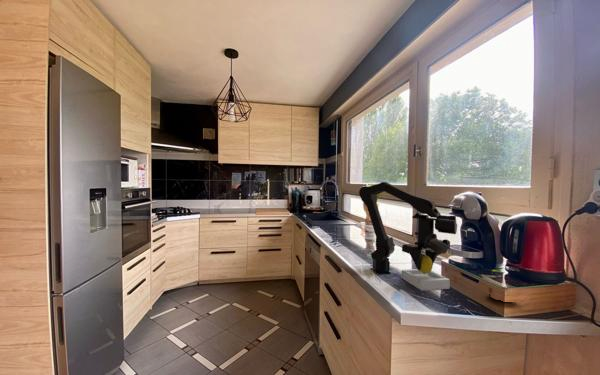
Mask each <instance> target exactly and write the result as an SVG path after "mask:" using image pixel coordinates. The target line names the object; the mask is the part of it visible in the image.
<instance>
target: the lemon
mask: <svg viewBox="0 0 600 375" xmlns="http://www.w3.org/2000/svg"><path fill="white" fill-rule="evenodd" d="M424 255H425V256H423V257H422V261H421V269H420V272H422V273H423V274H426V273H429V272H430V271H433V266H434V263H433V264H432V260H431V259H430V258H429V257H428V256H426V254H424Z"/></svg>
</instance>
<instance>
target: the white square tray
mask: <svg viewBox="0 0 600 375" xmlns="http://www.w3.org/2000/svg"><path fill="white" fill-rule="evenodd" d="M401 279H403V281H406V282H408V283H409V284H411V285H412V286H413V287H415V288H416V289H418V290H420V291H434V290H436V291H437V290H449V289H450V287H451V286H450V284H451V282H450V280H451V279H450V278H448V277H445V276H444V275H441V274H439V273H437V272H435V271H433V270H431V271H430V272H429V273H426V274H423V273H422V272H420V271H419V270H417V268H411V269H410V268H409V269H401Z"/></svg>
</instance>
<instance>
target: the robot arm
mask: <svg viewBox="0 0 600 375" xmlns="http://www.w3.org/2000/svg"><path fill="white" fill-rule="evenodd" d="M381 193H386V194H389V195H391V196H393V197H395V198H397V199H399V200H401V201H403V202H405V203H407V204H409V205H410V206H411V208H413V209H415V211H417V212H415V214H414V215H413V216H412V219H417V231H415V232H414V235H415V236H416V238H417V239H416V241H415V242H414V244H412V243H406V244H405V243H404V244H402V246H401V252H403V253H407V254H409V255H410V257H411V259H412V260H413V262H414V265H415V267H416V268H415V269H417V270H419V271H420V269H421V261H422V257H423V256H425V255H426V256H428V257H429V258H430V259H431V260H432V264H433V265H434V263H435V261H436V259H437V257H438V256H439V255H442V254H445V255H446V253H448V251H449V250H451V241H450V240H448V239H438V236H437V234H436V233H434V232H435V230H436V231H437V232H438V233H442V234H450V235H457V232H458V223H457V216H456V215H443V214H441V213H440V212H439V210H438V209H437V208H436V203H435V201H434V200H433V199H431V198H426V197H422V196H420V195H419V196H418V195H416V194H413V193H410V192H408V191H406V190H404V189H401V187H397V186H395V185H393V184H391V183H390V182H388V181H381V182H379V183H376V184H373V185H370V186H369V185H368V186H365V185H364V186H362V187H361V188H360V189H359V190H358V196H359V197H360V199H361V201H362V202H363V204H364V205H365V207H366V208H367V212H368V215H369V218H370V222H371V225H372V228H373V232H374V235H375V248H376V250H374V251H373V252H372V253H370V255H371V259H372V267H370V270H371V271H372V272H374V273H375V274H377V275H389V274H391V273H392V272H390V268H391V267H390V266H391V265H390V256H391V255H392V254H393V253H394V252H395V247H396V244H395V243H394V239H393V238H394V237H392V236H391V237H389V236H388V234H387V232H386V229H385V226H384V222H383V220H382V219H383V218H382V216H381V214H380V210H379V207H378V195H379V194H381ZM434 229H435V230H434ZM423 252H424V253H425V255H424V254H423Z"/></svg>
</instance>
